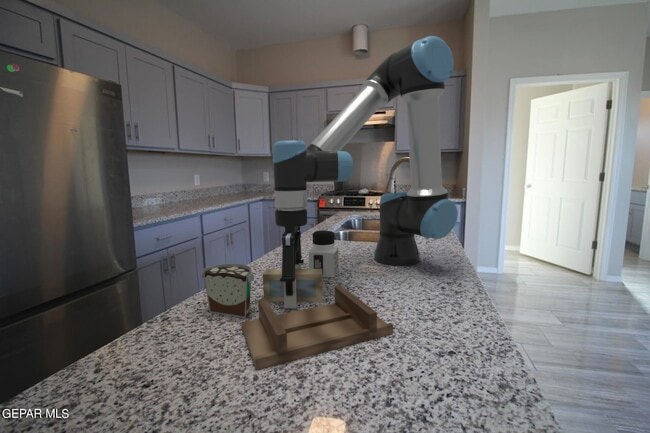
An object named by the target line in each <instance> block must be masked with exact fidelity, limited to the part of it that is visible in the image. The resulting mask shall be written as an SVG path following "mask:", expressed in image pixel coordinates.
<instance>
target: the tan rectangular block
mask: <svg viewBox="0 0 650 433" xmlns="http://www.w3.org/2000/svg"><path fill="white" fill-rule="evenodd" d="M286 276H290V275H286ZM280 278H282V268H266V269H265V270H264V272H263V273H262V287H263V299H266V300H267V301H268V303H274V302H275V303H284V284H283V282H280ZM323 278H324V277H322V269H309V268H301V269H295V280H296V303H303V302H304V303H305V302H306V303H310V302H311V303H313V302H314V303H315V302H316V303H317V302H318V303H319V302H321V303H323V298H324V297H323V296H324V291H323V290H324V287H323V285H324V284H323V283H324V282H323V280H324V279H323Z"/></svg>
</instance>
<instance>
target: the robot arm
mask: <svg viewBox="0 0 650 433" xmlns="http://www.w3.org/2000/svg"><path fill="white" fill-rule="evenodd" d="M454 61H455V60H454V56H453V52H452V50H451V48H450V46H449V45H447V44H446V41H445V40H444V39H442V38H441V37H438V36H436V35H435V36H434V35H429V36H426V37H423V38H420V39H417V40H415V41H414V42H413V43H411V44H409V45H407V46H405V47H403V48H402V49H400V50H397V51H395V52H393V53H391V54H390V55H389V56H387V57H385V59H384V60H383V61H382V62H381V63H380V64H379V65H378V66H377V67H376V69H374V70H373V71H372V73H371V74H370V75H369V76H368V77H367V78H366V79H365V80H364V82H363V83H362V85H361V90H360V91H358V93H357V94H356V95H355V96H354V97H353V98H352V99H351V100H350V101H349V102H348V103H347V104H346V105H345V107H344V108H342V110H341V111H340V112H339V113H338V114H337V115H336V116H335V117H334V119H333V120H331V121H330V122H329V123H328V124H327V126H326V127H325V128H324V129H323V130H322V131H321V132H320V134H319V135H317V136H316V137H315V139H314V140H313V141H312V142H311V143H310V144H309V145H308V146H307V145H306V143H305V142H304V141H303V140H279V141H276V142H275V143H274V144H273V147H272V150H273V151H272V167H273V168H272V169H273V186H274V188H273V189H274V193H273V194H271V195H272V197H271V198H272V199H274V207H275V208H276V209H275V211H274V216H275V217H274V221H275V225H276V226H277V227H280V228H281V227H284V232H283V233H282V236H281V241H282V242H281V243H282V245H281V246H282V247H281V248H282V249H281V251H282V252H281V253H282V254H281V255H282V256H281V257H282V258H281V269H282V278H280V282H283V284H284V302H283V306H284V309H297V303H298V302H296V280H295V269H302V265H303V264H305V260H304V259H302V258H303V256H302V243H301V242H302V240H301V238H302V233H301V227H303V226H306V225H307V224H308V210H307V209H306V207H307V206H308V188H307V184H308V183H326V182H327V183H329V182H331V183H332V182H336V183H338V182H345V181H348V180H350V179H351V177H352V175H353V172H354V160H353V157H352V156H351V153H349V152H348V151H346V150H345V151H342V149H343V148H344V147H345V146H346V145H347V144H348V143H349V141H351V139H352V138H354V136H355V135H356V133H358V132H359V131H360V130H361V129H362V127H363V126H364V125H365V124H366V123H367V122H368V121H369V120H370V119H371V118H372V117H373V115H374V114H375V113H376V112H377V111H378V110H379V109H381V108H385V107H386V106H387V105H388V104H389V103H390V102H391V101H392V100H393V99H396V98H397V97H399V96H400V99H401V100H402V101H404V102H405V104H406V116H407V118H406V119H407V137H408V154H409V157H408V158H409V171H410V172H409V173H410V175H409V176H410V188H409V190H408V191H401V192H390V193H389V192H388V193H384V194H382V195H380V197H379V198H380V199H379V204H378V205H379V236H378V241H377V243H376V247H375V250H374V256H373V257H374V258H373V259H374V261H376V262H378V263H380V264H383V265H384V264H385V265H389V266H411V265H416V264H418V263H419V262H420V251H419V249H418V245H417V242H416V238H415V236H419V237H423V238H425V239H433V240H440V239H443V238H446V237H447V236H448V235H449V234H450V233H451V232H452V230H454V228H455V226H456V224H457V221H458V214H459V213H458V207H457V205H456V204H455V202H454V201H453V200H452V199H451V200H450V199H449V192H448V189H446V188H445V187H444V186H443V180H442V178H443V176H442V175H443V174H442V154H441V147H442V146H441V125H440V98H441V97H442V95H443V94H444V93H445V91H446V90H445V82H446V81H447V80H449V79H450V77H451V75H452V73H453V70H454V66H455V62H454ZM286 275H290V276H286Z"/></svg>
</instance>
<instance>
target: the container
mask: <svg viewBox="0 0 650 433" xmlns="http://www.w3.org/2000/svg"><path fill="white" fill-rule="evenodd" d="M307 256H308V269H322V278H330V279H331V278H335V277H336V276H337V273H338V271H339V245H335V233H334V231H331V230H328V229H320V230H316V231H313V233H312V247H311V248H310V249H309V250H308V254H307Z"/></svg>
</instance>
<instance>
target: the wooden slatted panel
mask: <svg viewBox="0 0 650 433" xmlns="http://www.w3.org/2000/svg"><path fill="white" fill-rule="evenodd" d="M257 303H258V304H257V305H258V318H257V319H256V318H255V319H252V320H247V321H242V322H241V325H240V326H241V330H242V332H243V334H244V335H243V336H244V338H245V341H246V344H247V347H248V351H249V353H250V356H251V359H252V361H253V365H254V367H255V371H258V370H260V369H266V368H269V367H272V366H276V365H280V364H283V363H287V362H291V361H295V360H298V359H302V358H307V357H309V356H313V355H317V354H318V355H319V354H320V353H324V352H328V351H332V350H336V349H340V348H343V347H348V346H352V345H355V344H359V343H362V342H366V341H369V340H373V339H377V338H381V337H385V336H389V335H392V334H394V324H393V323H391V322H389V323H387V322H385V321H384V320H382V318H380V317H379V316H378V312H377V311H375V309H373V308H371V307H370V306H369V305H368V304H367V303H365V302H364V301H362V300H361V299H360V298H358V297H357V296H356V295H354V294H353V293H352V292H350V291H349V290H348V289H347V288H345V286H342V285H336V286H334V303H330V304H325V305H321V306H320V305H319V306H315V307H311V308H310V307H309V308H305V309H301V310H300V309H299V310H296V311H290V312H285V313H280V314H276V313H275V312H274V310H273V308H272V306H271V305H270V302H268V301H267V300H266V299H264V298H263V299H258V302H257Z"/></svg>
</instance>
